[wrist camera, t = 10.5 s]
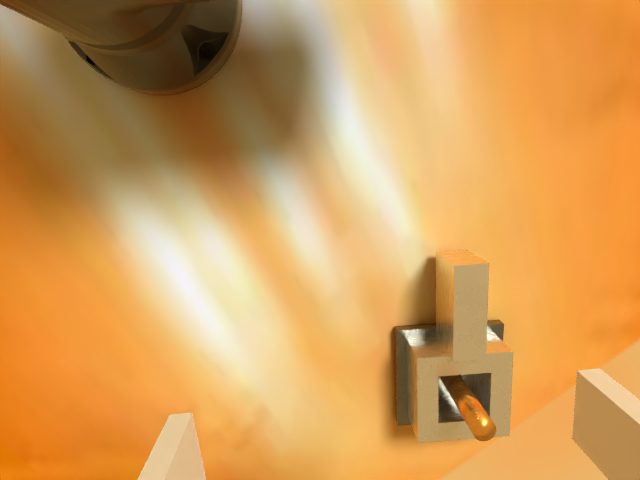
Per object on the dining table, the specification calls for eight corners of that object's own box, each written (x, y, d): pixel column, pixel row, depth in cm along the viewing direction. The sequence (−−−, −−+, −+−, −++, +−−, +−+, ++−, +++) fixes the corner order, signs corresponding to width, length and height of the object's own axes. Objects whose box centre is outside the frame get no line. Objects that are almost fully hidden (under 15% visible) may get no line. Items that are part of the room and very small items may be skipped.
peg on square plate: (394, 326, 42) (419, 375, 32) (499, 319, 42) (553, 367, 33) (396, 419, 44) (419, 490, 35) (495, 412, 44) (544, 481, 35)
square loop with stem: (405, 253, 39) (419, 268, 34) (496, 247, 39) (523, 261, 34) (407, 416, 43) (420, 450, 38) (491, 410, 43) (514, 443, 38)
